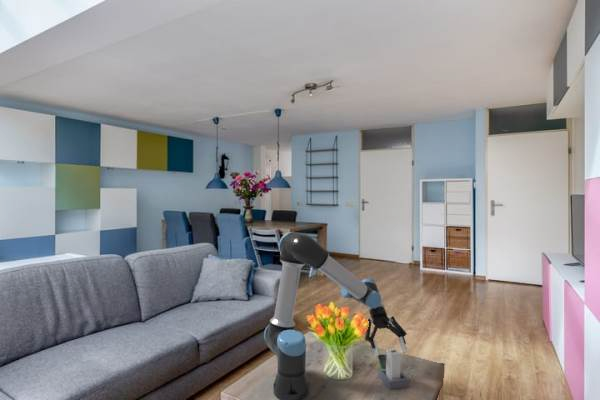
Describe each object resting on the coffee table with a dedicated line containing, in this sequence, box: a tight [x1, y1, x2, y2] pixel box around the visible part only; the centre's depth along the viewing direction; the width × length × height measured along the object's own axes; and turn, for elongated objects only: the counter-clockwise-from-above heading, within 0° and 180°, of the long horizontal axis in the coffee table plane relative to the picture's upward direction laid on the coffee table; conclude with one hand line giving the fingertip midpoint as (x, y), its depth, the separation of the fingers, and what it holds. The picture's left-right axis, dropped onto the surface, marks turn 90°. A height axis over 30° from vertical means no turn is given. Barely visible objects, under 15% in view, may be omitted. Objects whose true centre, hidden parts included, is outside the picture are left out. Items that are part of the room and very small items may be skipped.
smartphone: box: [377, 354, 386, 370], centre depth 172 cm, size 8×1×15 cm
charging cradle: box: [377, 369, 410, 390], centre depth 155 cm, size 9×10×3 cm
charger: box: [385, 348, 402, 380], centre depth 155 cm, size 4×5×13 cm
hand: (392, 353), depth 158 cm, fingers open, 13 cm apart
